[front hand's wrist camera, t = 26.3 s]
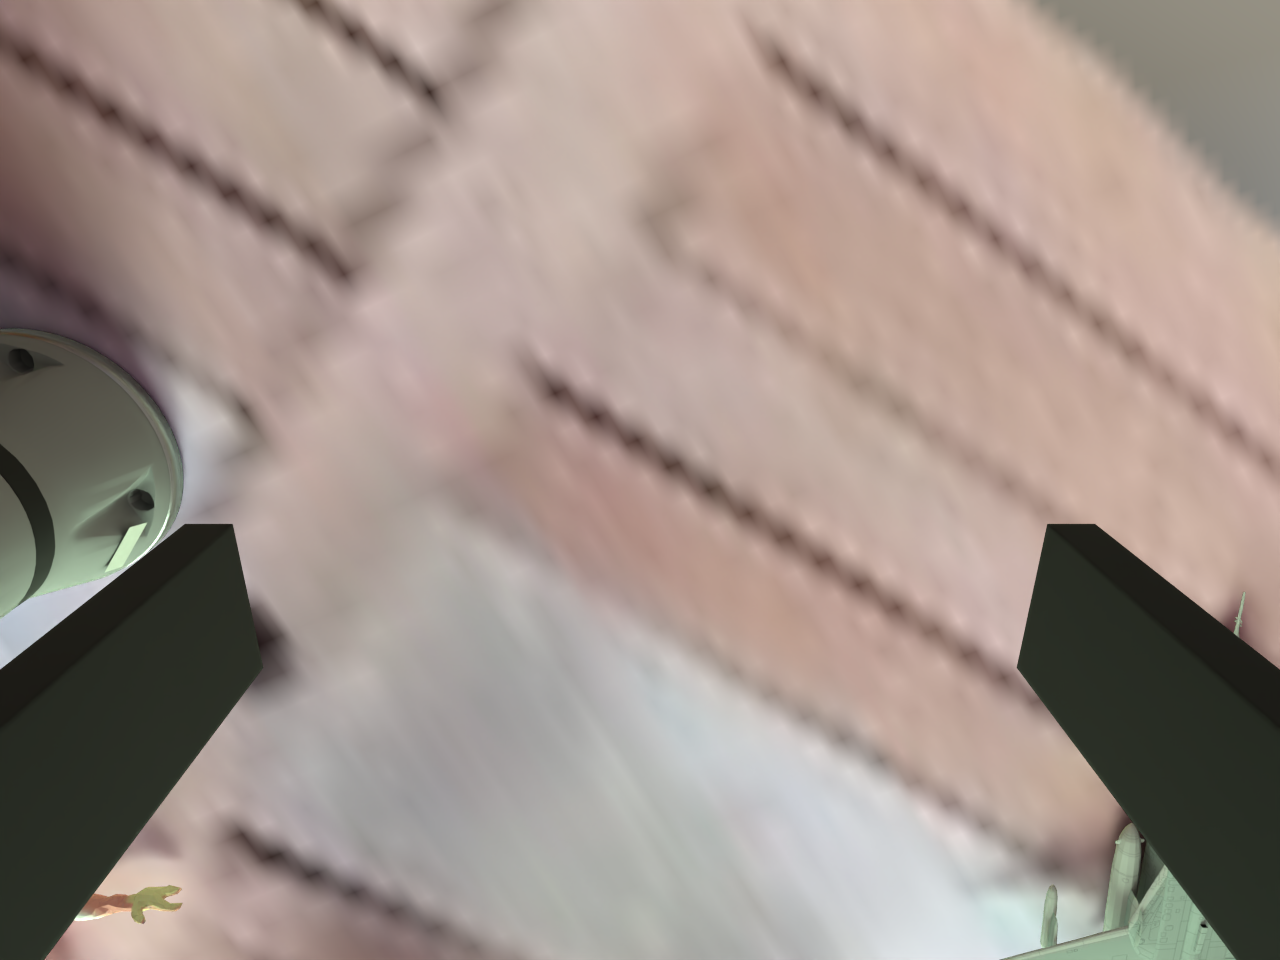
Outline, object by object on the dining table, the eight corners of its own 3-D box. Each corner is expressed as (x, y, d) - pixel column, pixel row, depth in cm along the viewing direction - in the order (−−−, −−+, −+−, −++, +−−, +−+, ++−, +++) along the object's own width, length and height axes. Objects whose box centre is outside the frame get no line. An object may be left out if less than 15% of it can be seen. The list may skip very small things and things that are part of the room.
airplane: (1452, 908, 61) (1600, 1039, 51) (1092, 1087, 68) (1164, 1230, 59) (1225, 578, 51) (1356, 665, 42) (832, 827, 58) (869, 950, 49)
